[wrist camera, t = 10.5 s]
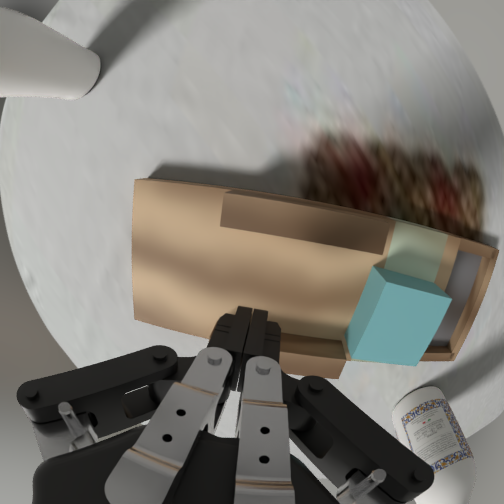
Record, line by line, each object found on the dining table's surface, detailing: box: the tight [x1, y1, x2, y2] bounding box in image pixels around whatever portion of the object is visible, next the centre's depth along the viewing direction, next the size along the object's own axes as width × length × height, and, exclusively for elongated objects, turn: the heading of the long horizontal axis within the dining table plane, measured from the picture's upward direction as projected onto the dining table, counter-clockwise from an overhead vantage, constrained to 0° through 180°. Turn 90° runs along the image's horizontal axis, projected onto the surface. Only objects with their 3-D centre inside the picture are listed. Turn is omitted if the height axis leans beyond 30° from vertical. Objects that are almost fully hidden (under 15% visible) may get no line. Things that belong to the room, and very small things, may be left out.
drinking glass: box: [0, 7, 101, 100], centre depth 11 cm, size 7×7×15 cm
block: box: [344, 266, 452, 366], centre depth 17 cm, size 6×6×3 cm
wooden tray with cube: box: [132, 178, 499, 379], centre depth 19 cm, size 12×32×4 cm, turn 82°
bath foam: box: [392, 386, 476, 504], centre depth 14 cm, size 7×7×20 cm
